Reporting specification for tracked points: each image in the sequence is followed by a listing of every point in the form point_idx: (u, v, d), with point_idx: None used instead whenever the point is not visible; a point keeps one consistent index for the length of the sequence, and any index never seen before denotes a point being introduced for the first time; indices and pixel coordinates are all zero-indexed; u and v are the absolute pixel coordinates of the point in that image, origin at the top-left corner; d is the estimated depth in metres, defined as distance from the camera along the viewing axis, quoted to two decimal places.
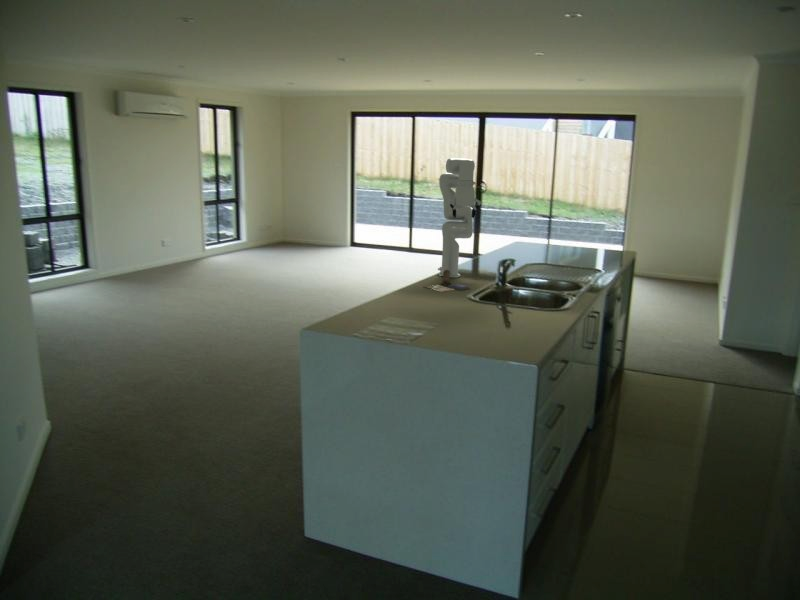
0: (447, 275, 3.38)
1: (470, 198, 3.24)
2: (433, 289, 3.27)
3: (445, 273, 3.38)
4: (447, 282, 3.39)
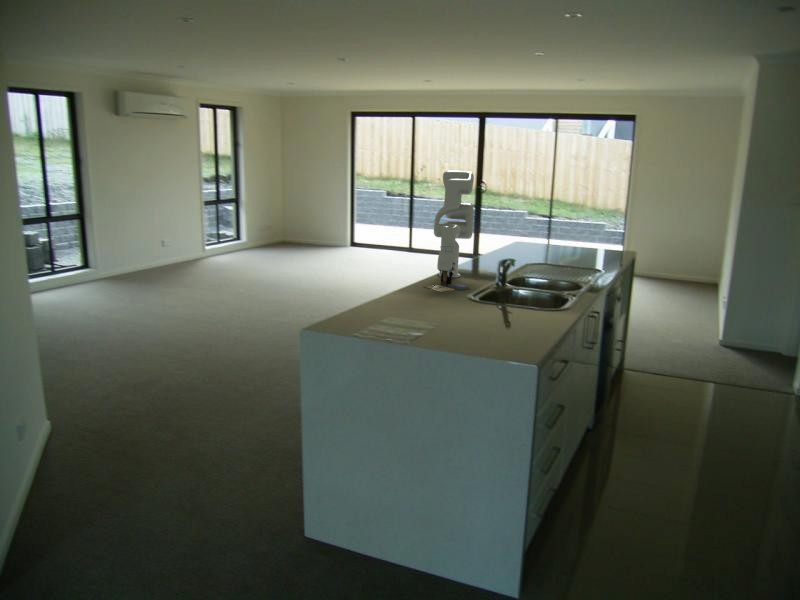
0: (447, 275, 3.38)
1: None
2: (433, 289, 3.27)
3: (445, 273, 3.38)
4: None
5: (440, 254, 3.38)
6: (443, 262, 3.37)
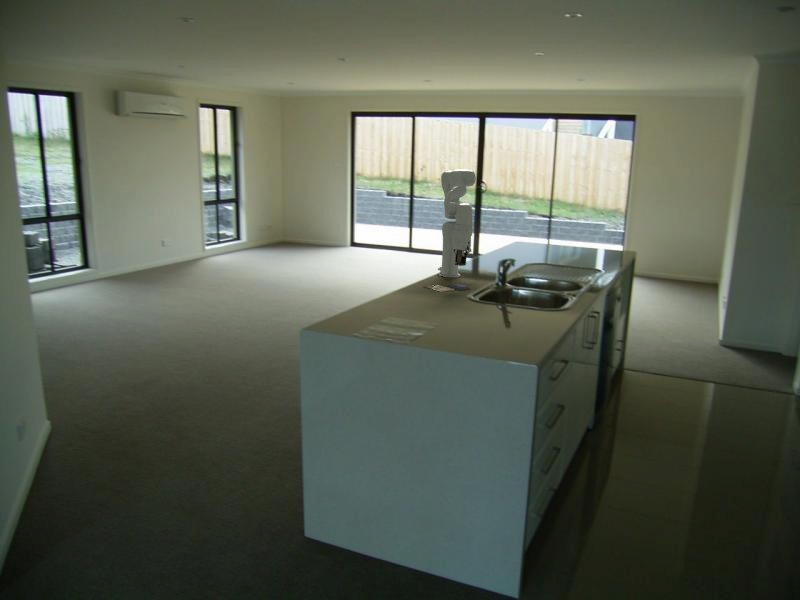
0: None
1: None
2: (433, 289, 3.27)
3: (460, 253, 3.28)
4: None
5: (455, 233, 3.28)
6: (457, 241, 3.26)
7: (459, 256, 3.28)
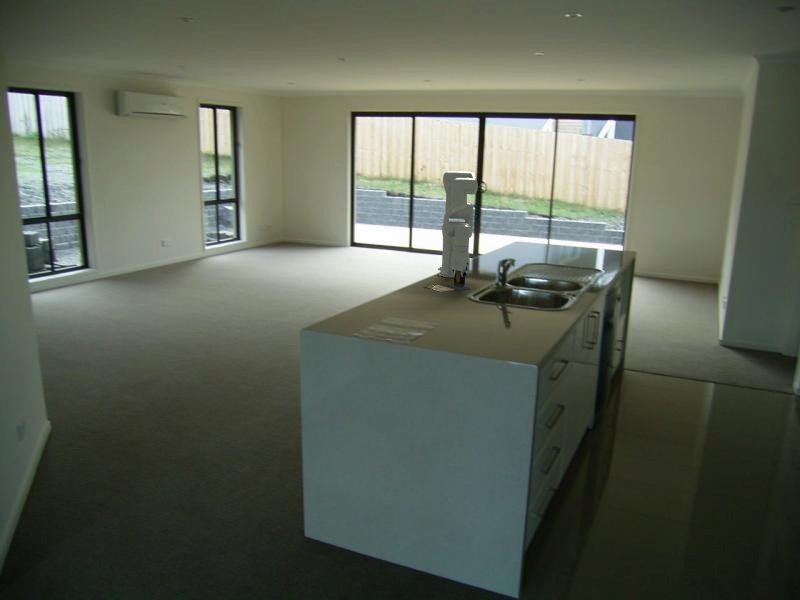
0: (460, 275, 3.30)
1: None
2: (433, 289, 3.27)
3: (458, 273, 3.30)
4: None
5: (453, 254, 3.30)
6: (456, 262, 3.29)
7: (458, 277, 3.31)
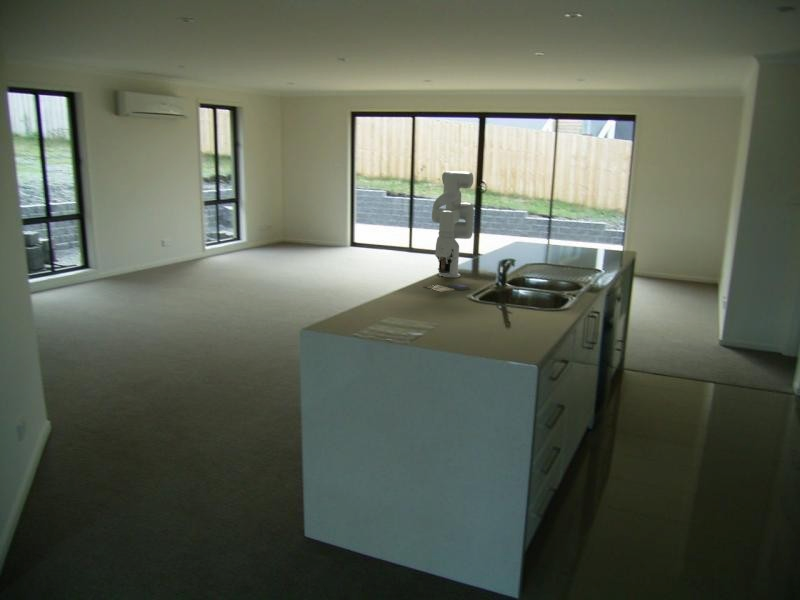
0: (445, 262, 3.23)
1: None
2: (433, 289, 3.27)
3: (443, 260, 3.23)
4: None
5: (438, 240, 3.23)
6: (441, 248, 3.22)
7: (443, 263, 3.24)
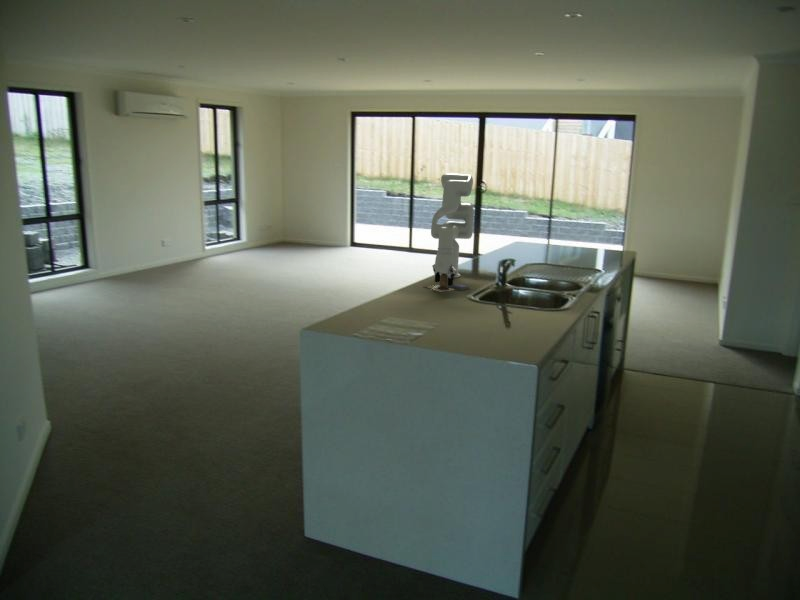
0: (444, 279, 3.26)
1: None
2: (433, 289, 3.27)
3: (442, 277, 3.25)
4: (444, 286, 3.27)
5: (437, 256, 3.25)
6: (440, 264, 3.24)
7: (442, 280, 3.26)
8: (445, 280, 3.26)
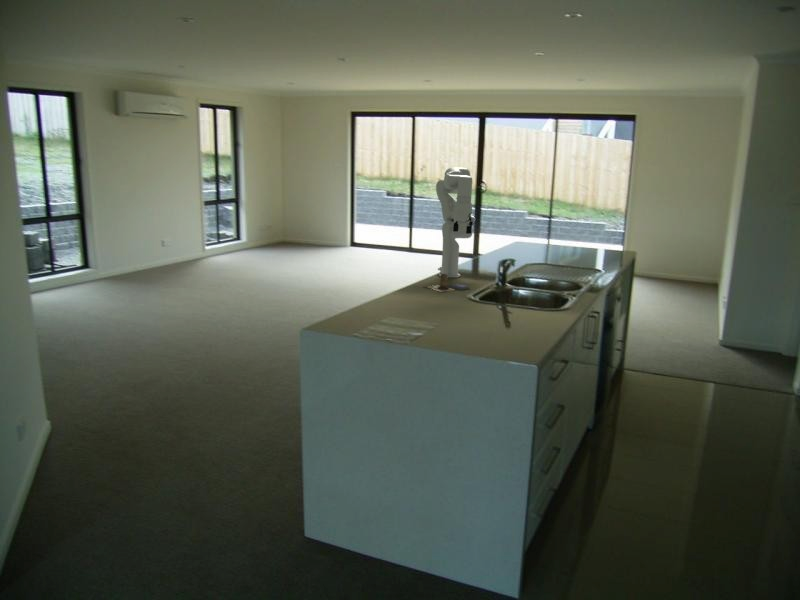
0: (444, 279, 3.26)
1: None
2: (433, 289, 3.27)
3: (442, 277, 3.25)
4: (444, 286, 3.27)
5: (456, 205, 3.34)
6: (459, 213, 3.33)
7: (442, 280, 3.26)
8: (445, 280, 3.26)
